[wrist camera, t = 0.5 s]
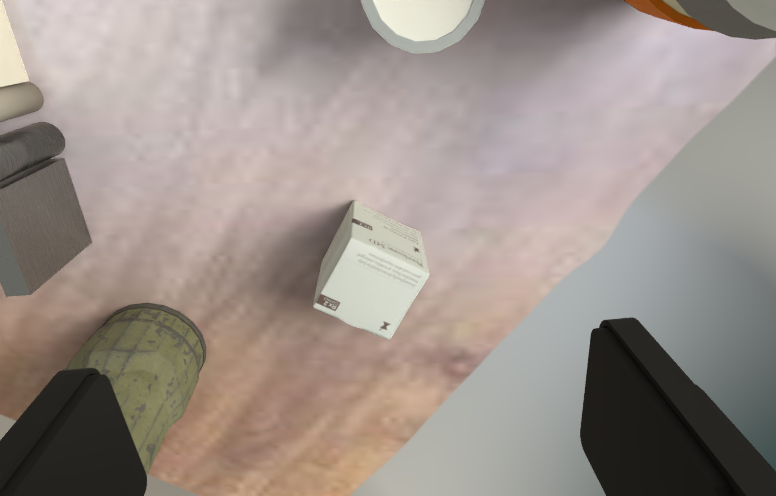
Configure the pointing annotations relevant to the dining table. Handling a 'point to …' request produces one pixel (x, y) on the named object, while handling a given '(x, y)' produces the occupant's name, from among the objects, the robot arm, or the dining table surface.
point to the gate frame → (36, 209)
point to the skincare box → (371, 271)
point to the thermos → (147, 368)
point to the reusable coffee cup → (717, 15)
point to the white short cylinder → (422, 22)
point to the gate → (14, 76)
